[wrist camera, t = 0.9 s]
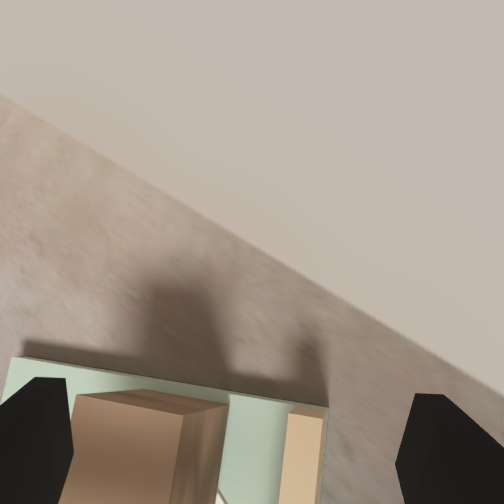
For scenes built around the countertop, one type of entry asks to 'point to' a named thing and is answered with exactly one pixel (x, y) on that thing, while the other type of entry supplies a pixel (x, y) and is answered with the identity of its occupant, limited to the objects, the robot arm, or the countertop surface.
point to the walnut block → (145, 449)
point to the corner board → (236, 437)
